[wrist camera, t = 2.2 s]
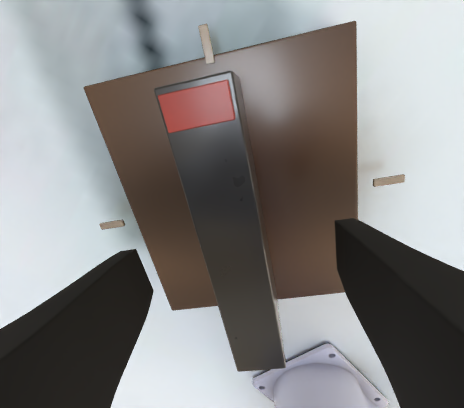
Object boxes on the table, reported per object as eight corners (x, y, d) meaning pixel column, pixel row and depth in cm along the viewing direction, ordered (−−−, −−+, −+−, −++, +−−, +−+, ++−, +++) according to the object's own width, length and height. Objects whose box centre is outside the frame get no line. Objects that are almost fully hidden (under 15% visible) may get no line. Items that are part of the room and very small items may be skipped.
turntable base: (379, 279, 18) (395, 303, 16) (157, 303, 20) (147, 327, 18) (390, -12, 11) (419, -32, 9) (59, 72, 13) (27, 70, 12)
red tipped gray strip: (275, 288, 16) (287, 374, 11) (240, 292, 16) (237, 377, 12) (239, 75, 11) (232, 69, 6) (190, 87, 12) (149, 88, 7)
